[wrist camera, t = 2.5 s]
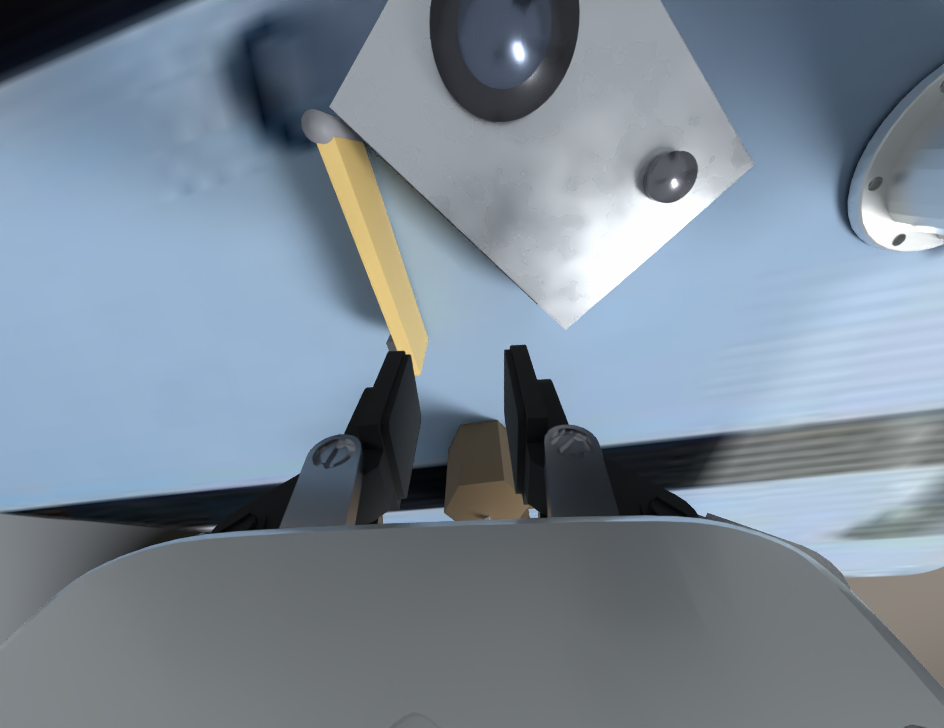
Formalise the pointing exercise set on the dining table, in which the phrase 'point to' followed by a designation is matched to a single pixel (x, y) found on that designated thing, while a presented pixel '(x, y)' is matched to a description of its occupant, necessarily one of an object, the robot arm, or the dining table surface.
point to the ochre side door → (370, 229)
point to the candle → (481, 475)
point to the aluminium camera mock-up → (546, 132)
